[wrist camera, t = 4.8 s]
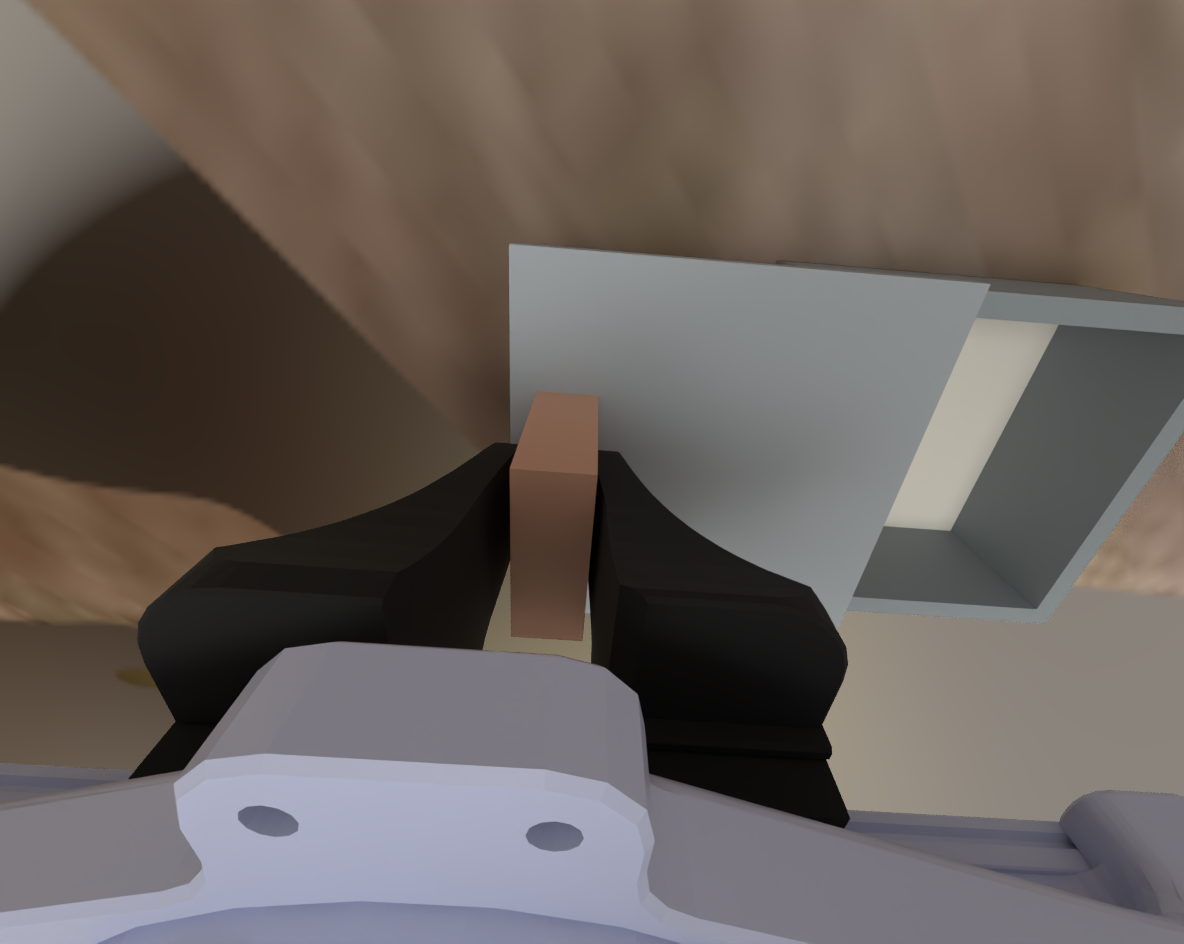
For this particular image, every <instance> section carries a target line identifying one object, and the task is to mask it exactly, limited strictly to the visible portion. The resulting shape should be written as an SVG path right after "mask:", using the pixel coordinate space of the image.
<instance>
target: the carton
mask: <svg viewBox="0 0 1184 944" xmlns="http://www.w3.org/2000/svg"><path fill="white" fill-rule="evenodd" d="M777 264H779V265H791V266H803V267H815V268H827V269H839V270H851V271H863V272H875V273H887V274H899V275H911V276H923V277H935V278H947V279H959V280H971V281H977V282H982V283H988V284H991V285H990V287H989V289H988V291H987V294H986V296H985V298H984V300H983V303H982V305H981V307H980V309H979V312H978V314H977V316H976V319H975V321H974V323H973V325H972V328H971V330H970V332H969V334H968V337H967V339H966V341H965V343H964V346H963V348H962V350H961V352H960V355H959V357H958V359H957V361H956V364H955V366H954V368H953V370H952V373H951V375H950V377H949V380H948V382H947V384H946V386H945V389H944V391H943V393H942V395H941V398H940V400H939V402H938V404H937V407H936V409H935V411H934V413H933V416H932V418H931V420H930V422H929V425H928V427H927V429H926V431H925V434H924V436H923V438H922V441H921V443H920V445H919V447H918V450H917V452H916V454H915V456H914V459H913V461H912V463H911V465H910V468H909V470H908V472H907V474H906V477H905V479H904V481H903V483H902V486H901V488H900V490H899V492H898V495H897V497H896V499H895V501H894V504H893V506H892V508H891V511H890V513H889V515H888V517H887V520H886V522H885V524H884V526H883V529H882V531H881V533H880V535H879V538H878V540H877V542H876V544H875V547H874V549H873V551H872V553H871V556H870V558H869V560H868V562H867V565H866V567H865V569H864V572H863V574H862V576H861V578H860V581H859V583H858V585H857V587H856V590H855V592H854V594H853V596H852V599H851V601H850V603H849V605H848V608H847V610H846V611H860V612H876V613H890V614H906V615H920V616H936V617H950V618H967V619H980V620H995V621H1010V622H1011V621H1012V622H1026V623H1041V624H1045V623H1046V622H1047V620H1048V619H1049V618H1050V616H1051V615H1052V613H1053V612H1054V611H1055V609H1056V608H1057V606H1058V605H1059V604H1060V602H1061V601H1062V599H1063V598H1064V597H1065V595H1066V594H1067V593H1068V591H1069V590H1070V588H1071V587H1072V586H1073V584H1074V583H1075V582H1076V580H1077V579H1078V577H1079V576H1080V575H1081V573H1082V572H1083V570H1084V569H1085V568H1086V566H1087V565H1088V564H1089V562H1090V561H1091V559H1092V558H1093V557H1094V555H1095V554H1096V552H1097V551H1098V550H1099V548H1100V547H1101V546H1102V544H1103V543H1104V541H1105V540H1106V539H1107V537H1108V536H1109V534H1110V533H1111V532H1112V530H1113V529H1114V528H1115V526H1116V525H1117V523H1118V522H1119V521H1120V519H1121V518H1122V517H1123V515H1124V514H1125V512H1126V511H1127V510H1128V508H1129V507H1130V505H1131V504H1132V503H1133V501H1134V500H1135V499H1136V497H1137V496H1138V494H1139V493H1140V492H1141V490H1142V489H1143V487H1144V486H1145V485H1146V483H1147V482H1148V481H1149V479H1150V478H1151V476H1152V475H1153V474H1154V472H1155V471H1156V469H1157V468H1158V467H1159V465H1160V464H1161V463H1162V461H1163V460H1164V458H1165V457H1166V456H1167V454H1168V453H1169V451H1170V450H1171V449H1172V447H1173V446H1174V445H1175V443H1176V442H1177V440H1178V439H1179V438H1180V436H1181V435H1182V433H1183V432H1184V301H1178V300H1171V299H1165V298H1158V297H1152V296H1145V295H1139V294H1132V293H1126V292H1119V291H1113V290H1106V289H1100V288H1093V287H1086V286H1079V285H1067V284H1055V283H1043V282H1032V281H1020V280H1008V279H996V278H984V277H972V276H960V275H948V274H936V273H924V272H912V271H900V270H888V269H876V268H864V267H852V266H840V265H828V264H816V263H804V262H792V261H780V260H778V261H777Z"/></svg>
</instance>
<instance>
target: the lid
mask: <svg viewBox="0 0 1184 944" xmlns="http://www.w3.org/2000/svg"><path fill="white" fill-rule="evenodd" d="M990 285H991V284H988V283H982V282H977V281H971V280H959V279H947V278H935V277H923V276H911V275H899V274H887V273H875V272H863V271H851V270H839V269H827V268H815V267H803V266H791V265H779V264H767V263H755V262H743V261H731V260H719V259H707V258H695V257H683V256H671V255H659V254H647V253H635V252H623V251H611V250H599V249H587V248H575V247H563V246H551V245H539V244H527V243H515V242H513V243H510V244H509V317H510V444H518V446H517V449H516V452H515V455H514V458H513V460H512V463H511V466H510V565H511V567H510V568H511V569H510V573H511V574H510V576H511V636H512V637H526V638H543V639H558V640H574V641H582V640H583V629H584V618H585V614H590V602H589V588H588V575H589V564H590V553H591V542H592V531H593V520H594V509H595V499H596V488H597V477H598V450H603V451H617V452H619V453H620V454H621V455H622V456H623V458H624V459H625V461H626V462H627V463H628V465H629V466H630V468H631V469H632V470H633V472H634V473H635V474H636V476H637V477H638V478H639V479H640V481H641V482H642V483H643V484H644V485H645V487H646V488H647V489H648V490H649V491H650V492H651V493H652V494H653V495H654V496H655V497H656V498H657V499H658V500H659V501H660V502H661V503H662V504H663V505H664V506H665V507H666V508H667V509H668V510H669V511H670V512H672V513H673V514H674V515H675V516H676V517H678V518H679V519H680V520H681V521H683V522H684V523H685V524H687V525H688V526H689V527H690V528H692V529H693V530H695V531H696V532H698V533H699V534H701V535H702V536H704V537H705V538H707V539H709V540H710V541H712V542H713V543H715V544H717V545H718V546H720V547H722V548H723V549H725V550H727V551H729V552H731V553H733V554H734V555H736V556H738V557H740V558H742V559H744V560H747V561H749V562H751V563H753V564H755V565H757V566H759V567H761V568H763V569H766V570H768V571H771V572H773V573H776V574H779V575H781V576H784V577H786V578H789V579H792V580H794V581H797V582H799V583H802V584H805V585H807V586H810V587H811V588H812V589H813V591H814V592H815V594H816V595H817V597H818V598H819V600H820V601H821V603H822V604H823V606H824V608H825V609H826V611H827V613H828V614H829V616H830V618H831V620H832V622H833V624H834V626H835V628H836V630H838V628H839V625H840V623H841V621H842V619H843V617H844V614H845V612H846V610H847V608H848V605H849V603H850V601H851V599H852V596H853V594H854V592H855V590H856V587H857V585H858V583H859V581H860V578H861V576H862V574H863V572H864V569H865V567H866V565H867V562H868V560H869V558H870V556H871V553H872V551H873V549H874V547H875V544H876V542H877V540H878V538H879V535H880V533H881V531H882V529H883V526H884V524H885V522H886V520H887V517H888V515H889V513H890V511H891V508H892V506H893V504H894V501H895V499H896V497H897V495H898V492H899V490H900V488H901V486H902V483H903V481H904V479H905V477H906V474H907V472H908V470H909V468H910V465H911V463H912V461H913V459H914V456H915V454H916V452H917V450H918V447H919V445H920V443H921V441H922V438H923V436H924V434H925V431H926V429H927V427H928V425H929V422H930V420H931V418H932V416H933V413H934V411H935V409H936V407H937V404H938V402H939V400H940V398H941V395H942V393H943V391H944V389H945V386H946V384H947V382H948V380H949V377H950V375H951V373H952V370H953V368H954V366H955V364H956V361H957V359H958V357H959V355H960V352H961V350H962V348H963V346H964V343H965V341H966V339H967V337H968V334H969V332H970V330H971V328H972V325H973V323H974V321H975V319H976V316H977V314H978V312H979V309H980V307H981V305H982V303H983V300H984V298H985V296H986V294H987V291H988V289H989V287H990Z"/></svg>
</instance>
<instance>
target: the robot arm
mask: <svg viewBox="0 0 1184 944" xmlns="http://www.w3.org/2000/svg"><path fill="white" fill-rule="evenodd" d="M517 446H518V444H507V443H494V444H492V445H491V446H489V447H487V448H486V449H485V450H483V451H482V452H480V453H479V454H477V455H476V456H474V457H473V458H472V459H470V460H469V461H467V462H466V463H464V464H463V465H461V466H460V467H458V468H457V469H455V470H454V471H452V472H450V473H449V474H447V475H445V476H443V477H442V478H440V479H439V480H437V481H435V482H433V483H431V484H430V485H428V486H426V487H425V488H423V489H421V490H419V491H417V492H415V493H413V494H411V495H409V496H407V497H404V498H402V499H400V500H398V501H395V502H393V503H391V504H388V505H386V506H383V507H381V508H378V509H375V510H372V511H369V512H367V513H364V514H361V515H358V516H355V517H352V518H349V519H346V520H343V521H340V522H337V523H333V524H330V525H326V526H322V527H319V528H314V529H310V530H306V531H302V532H299V533H294V534H289V535H285V536H280V537H275V538H269V539H263V540H258V541H252V542H246V543H241V544H235V545H229V546H223V547H216V548H214V549H213V550H212V551H211V552H210V553H209V554H207V555H206V556H205V557H204V558H203V559H202V560H201V561H199V562H198V563H197V564H196V565H195V566H194V567H193V568H191V569H190V570H189V571H188V572H187V573H186V574H185V575H183V576H182V577H181V578H180V579H179V580H178V581H177V582H176V583H174V584H173V585H172V586H171V587H170V588H169V589H168V590H166V591H165V592H164V593H163V594H162V595H161V596H160V597H158V598H157V599H156V600H155V601H154V602H153V603H152V604H150V605H149V606H148V607H147V609H146V611H145V612H144V614H143V616H142V617H141V619H140V621H139V622H138V637H137V641H138V645H139V648H140V651H141V654H142V657H143V660H144V663H145V665H146V667H147V669H148V670H149V672H150V674H151V676H152V678H153V680H154V682H155V683H156V685H157V687H158V689H159V691H160V693H161V695H162V696H163V698H164V700H165V702H166V704H167V706H168V708H169V709H170V711H171V713H172V715H173V716H174V719H175V721H176V722H175V723H174V724H173V725H172V727H171V728H170V729H169V730H168V731H167V733H166V734H165V735H164V736H163V737H162V739H161V740H160V741H159V742H158V744H157V745H156V746H155V747H154V748H153V750H152V751H151V752H150V753H149V754H148V755H147V757H146V758H145V759H144V760H143V762H142V763H141V764H140V765H139V766H138V767H137V769H136V770H122V769H105V768H103V769H102V768H87V767H86V768H85V767H69V766H51V765H33V764H15V763H14V764H13V763H0V944H1184V797H1183V796H1179V795H1175V794H1167V793H1151V792H1150V793H1149V792H1133V791H1132V792H1131V791H1114V790H1105V791H1095V792H1092V793H1089V794H1086V795H1083V796H1081V797H1080V798H1078V799H1077V800H1075V801H1074V802H1073V803H1072V804H1071V805H1070V806H1069V807H1068V808H1067V809H1066V810H1065V812H1064V813H1063V814H1062V816H1061V818H1060V821H1059V822H1052V821H1034V820H1016V819H998V818H980V817H963V816H945V815H926V814H908V813H891V812H873V811H855V810H847V809H846V807H845V804H844V802H843V799H842V797H841V794H840V792H839V790H838V787H837V785H836V782H835V780H834V778H833V775H832V773H831V771H830V768H829V766H828V763H827V761H826V759H830V757H831V755H832V747H831V744H830V742H829V739H828V737H827V735H826V732H825V731H824V728H823V726H822V724H823V722H824V720H825V717H826V716H827V713H828V711H829V709H830V707H831V705H832V703H833V701H834V699H835V697H836V695H837V693H838V691H839V688H840V686H841V684H842V682H843V680H844V676H845V673H846V669H847V666H848V660H847V651H846V646H845V644H844V642H843V640H842V639H841V637H840V635H839V633H838V632H837V630H836V628H835V626H834V624H833V622H832V620H831V618H830V616H829V614H828V613H827V611H826V609H825V608H824V606H823V604H822V603H821V601H820V600H819V598H818V597H817V595H816V594H815V592H814V591H813V589H812V588H811V587H810V586H807V585H805V584H802V583H799V582H797V581H794V580H792V579H789V578H786V577H784V576H781V575H779V574H776V573H773V572H771V571H768V570H766V569H763V568H761V567H759V566H757V565H755V564H753V563H751V562H749V561H747V560H744V559H742V558H740V557H738V556H736V555H734V554H733V553H731V552H729V551H727V550H725V549H723V548H722V547H720V546H718V545H717V544H715V543H713V542H712V541H710V540H709V539H707V538H705V537H704V536H702V535H701V534H699V533H698V532H696V531H695V530H693V529H692V528H690V527H689V526H688V525H687V524H685V523H684V522H683V521H681V520H680V519H679V518H678V517H676V516H675V515H674V514H673V513H672V512H670V511H669V510H668V509H667V508H666V507H665V506H664V505H663V504H662V503H661V502H660V501H659V500H658V499H657V498H656V497H655V496H654V495H653V494H652V493H651V492H650V491H649V490H648V489H647V488H646V487H645V485H644V484H643V483H642V482H641V481H640V479H639V478H638V477H637V476H636V474H635V473H634V472H633V470H632V469H631V468H630V466H629V465H628V463H627V462H626V461H625V459H624V458H623V456H622V455H621V454H620V453H619V452H617V451H603V450H598V477H597V488H596V499H595V509H594V520H593V531H592V542H591V553H590V564H589V575H588V588H589V602H590V615H591V630H592V631H591V632H592V633H591V634H592V652H591V663H588V662H584V661H580V660H575V659H571V658H568V657H564V656H560V655H551V654H535V653H520V652H504V651H487V650H482V649H483V645H484V640H485V636H486V633H487V629H488V625H489V622H490V619H491V616H492V613H493V610H494V607H495V604H496V601H497V598H498V595H499V592H500V589H501V586H502V583H503V580H504V577H505V574H506V571H507V568H508V565H509V562H510V466H511V463H512V460H513V458H514V455H515V452H516V449H517Z"/></svg>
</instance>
